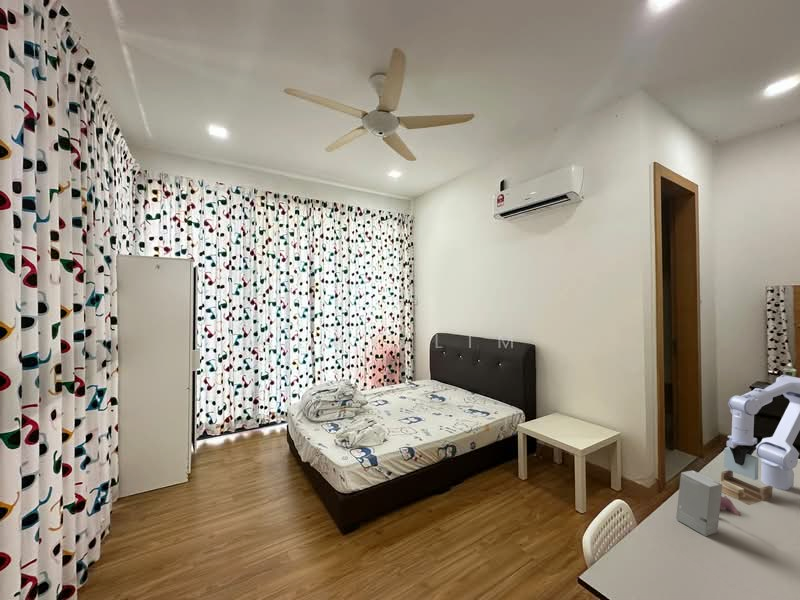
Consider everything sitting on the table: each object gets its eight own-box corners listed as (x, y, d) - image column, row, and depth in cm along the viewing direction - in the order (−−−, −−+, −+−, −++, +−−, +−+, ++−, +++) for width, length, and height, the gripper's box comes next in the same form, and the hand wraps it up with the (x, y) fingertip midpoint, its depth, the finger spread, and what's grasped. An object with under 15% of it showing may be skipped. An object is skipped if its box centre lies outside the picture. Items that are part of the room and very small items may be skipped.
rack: (730, 482, 130) (730, 469, 130) (772, 501, 119) (772, 486, 119) (707, 488, 126) (707, 475, 126) (748, 508, 115) (748, 493, 115)
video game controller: (731, 516, 112) (723, 493, 115) (742, 519, 108) (734, 494, 111) (699, 514, 113) (693, 491, 116) (710, 516, 109) (702, 492, 112)
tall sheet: (727, 467, 130) (727, 447, 130) (758, 479, 122) (758, 457, 122) (724, 468, 130) (724, 447, 130) (754, 480, 121) (755, 458, 121)
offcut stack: (724, 487, 125) (724, 480, 124) (745, 497, 119) (745, 489, 119) (717, 489, 123) (717, 481, 123) (738, 499, 118) (738, 491, 118)
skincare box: (675, 520, 108) (677, 472, 107) (689, 515, 110) (691, 468, 110) (707, 538, 100) (709, 486, 99) (721, 532, 102) (723, 482, 102)
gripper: (740, 422, 132) (739, 456, 132) (717, 426, 127) (716, 461, 127) (764, 429, 125) (763, 464, 125) (740, 433, 120) (739, 470, 121)
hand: (741, 463), depth 126 cm, fingers closed on tall sheet, 2 cm apart
